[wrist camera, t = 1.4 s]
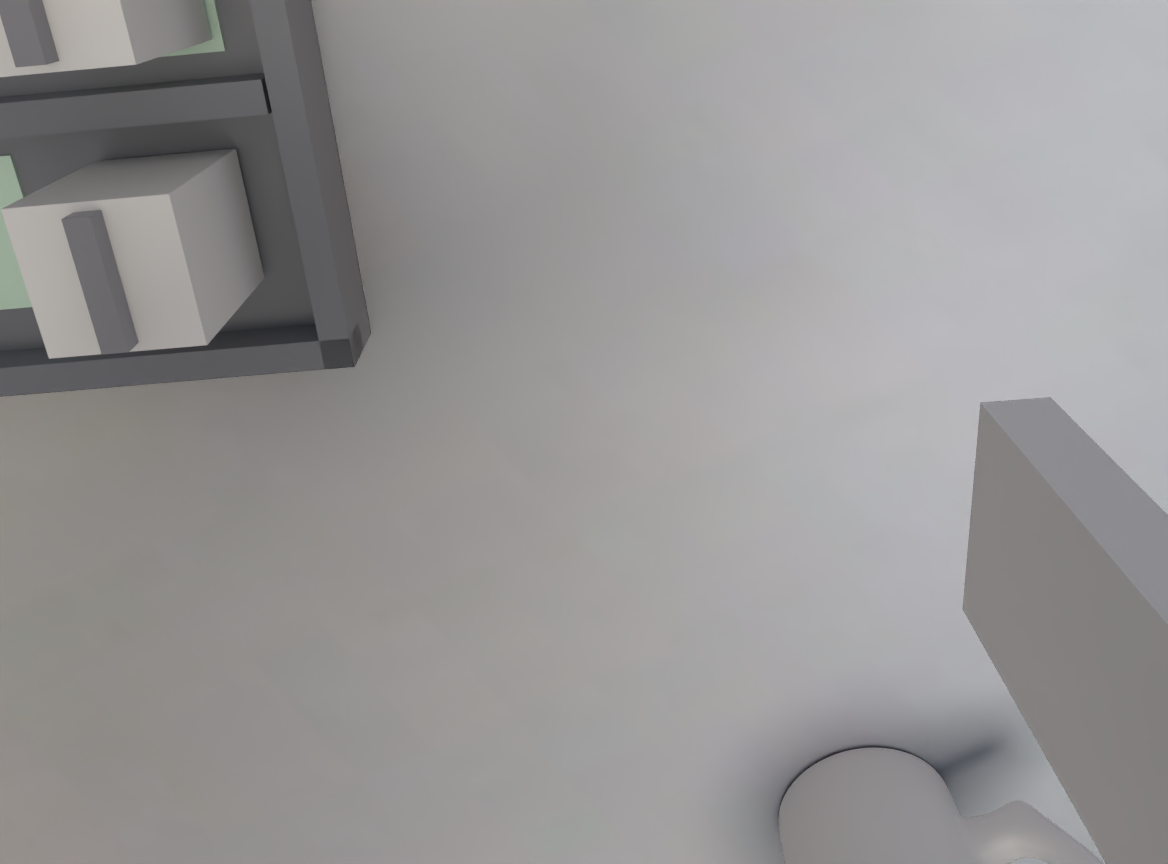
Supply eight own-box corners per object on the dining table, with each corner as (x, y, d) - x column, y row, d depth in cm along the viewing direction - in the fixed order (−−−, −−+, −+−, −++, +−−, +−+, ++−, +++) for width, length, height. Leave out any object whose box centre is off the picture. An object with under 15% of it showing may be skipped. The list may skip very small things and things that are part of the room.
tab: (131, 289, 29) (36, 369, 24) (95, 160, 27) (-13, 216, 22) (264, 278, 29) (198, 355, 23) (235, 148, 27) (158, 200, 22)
